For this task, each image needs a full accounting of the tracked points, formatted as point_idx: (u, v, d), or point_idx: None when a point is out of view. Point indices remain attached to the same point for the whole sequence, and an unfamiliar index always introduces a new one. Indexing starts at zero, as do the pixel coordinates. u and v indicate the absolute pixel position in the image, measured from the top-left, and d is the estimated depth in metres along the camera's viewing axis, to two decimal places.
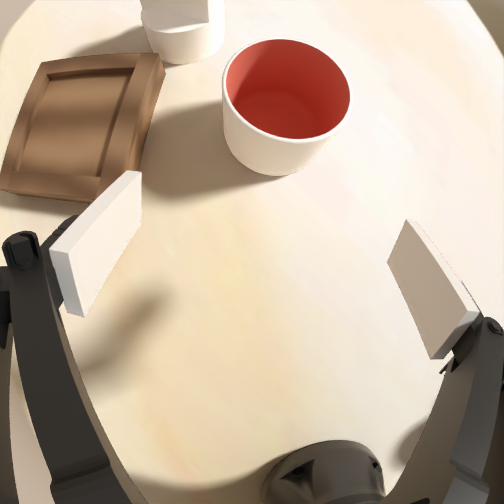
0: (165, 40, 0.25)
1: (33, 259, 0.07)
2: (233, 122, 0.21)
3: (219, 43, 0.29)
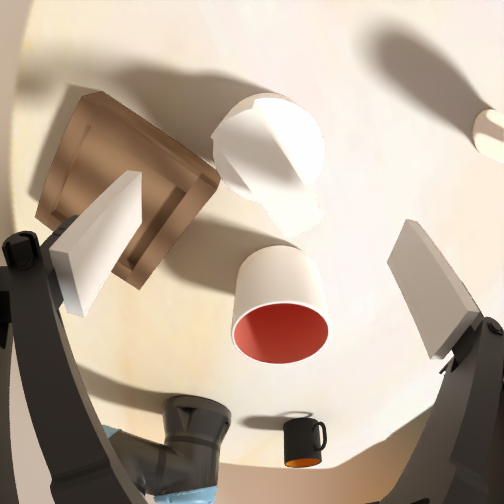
0: None
1: (33, 259, 0.07)
2: None
3: None
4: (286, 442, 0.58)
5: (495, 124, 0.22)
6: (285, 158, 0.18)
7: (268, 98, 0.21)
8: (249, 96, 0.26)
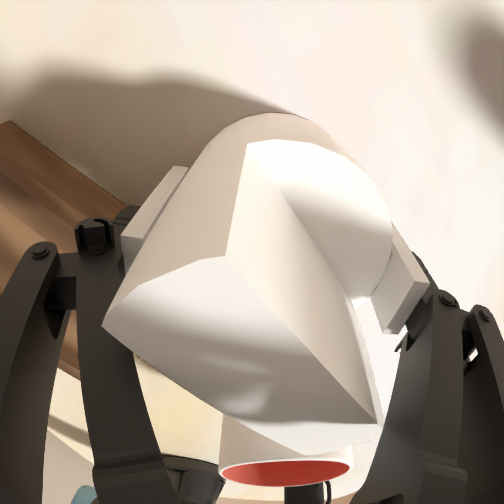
0: None
1: (105, 246, 0.08)
2: None
3: None
4: (287, 497, 0.46)
5: None
6: (330, 377, 0.06)
7: (280, 140, 0.09)
8: (240, 120, 0.14)
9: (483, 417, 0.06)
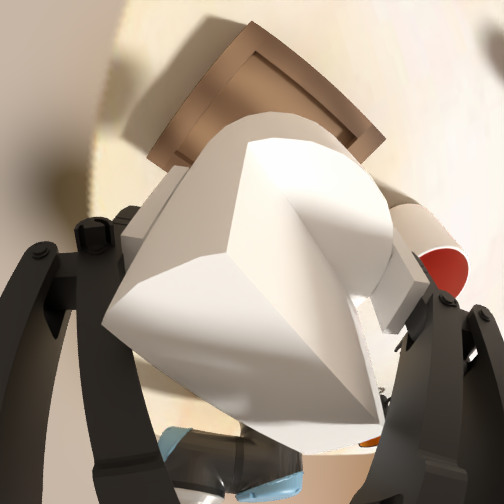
0: None
1: (105, 246, 0.08)
2: None
3: None
4: None
5: None
6: (331, 376, 0.06)
7: (281, 139, 0.09)
8: (240, 119, 0.14)
9: (483, 417, 0.06)
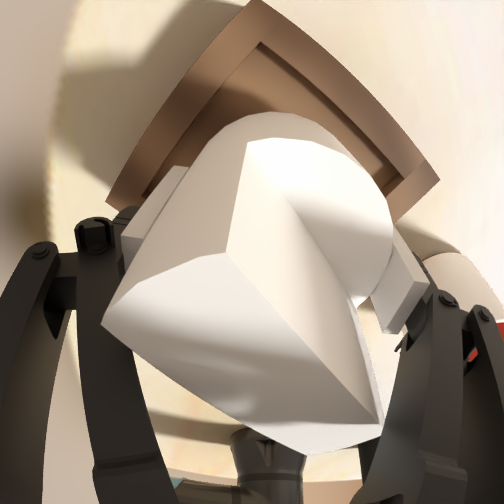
0: None
1: (105, 246, 0.08)
2: None
3: None
4: (365, 461, 0.48)
5: None
6: (331, 376, 0.06)
7: (280, 139, 0.09)
8: (240, 119, 0.14)
9: (483, 417, 0.06)
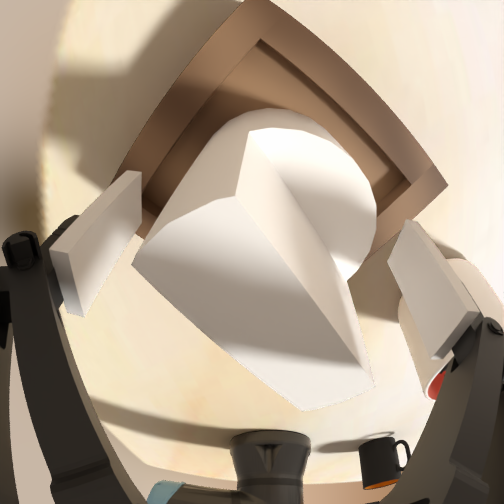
0: None
1: (33, 259, 0.07)
2: (423, 368, 0.20)
3: None
4: (366, 465, 0.47)
5: None
6: (318, 312, 0.07)
7: (276, 128, 0.11)
8: (242, 115, 0.15)
9: None
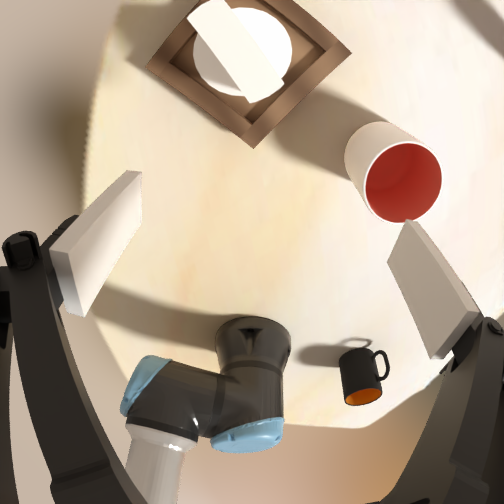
0: None
1: (33, 259, 0.07)
2: (359, 177, 0.30)
3: None
4: (346, 374, 0.58)
5: None
6: (247, 32, 0.17)
7: (242, 8, 0.20)
8: None
9: None
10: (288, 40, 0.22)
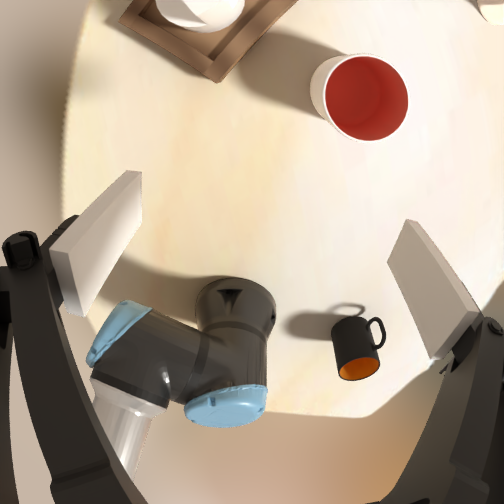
0: None
1: (33, 259, 0.07)
2: (319, 95, 0.28)
3: (227, 25, 0.28)
4: (338, 344, 0.55)
5: None
6: None
7: None
8: None
9: None
10: None
